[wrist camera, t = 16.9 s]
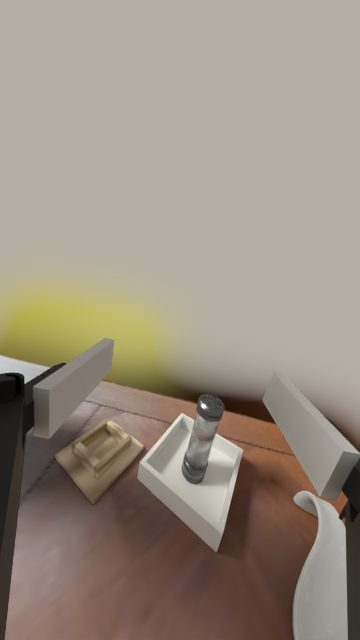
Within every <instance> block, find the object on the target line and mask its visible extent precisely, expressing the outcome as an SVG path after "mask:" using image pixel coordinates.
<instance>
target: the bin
mask: <svg viewBox="0 0 360 640" xmlns="http://www.w3.org/2000/svg"><path fill="white" fill-rule="evenodd" d="M194 421H195V420H193V419H191V418H190V417H188V416H186V415H185V414H183V413H181V415H180V416H179V417H178V418H177V419H176V420H175V422H174V423H173V424H172V425H171V426H170V427H169V429H168V430H167V431H166V432H165V433H164V435H163V436H162V437H161V438H160V439H159V440H158V442H157V443H156V444H155V445H154V446H153V447H152V449H151V450H150V451H149V452H148V453H147V454H146V456H145V457H144V458H143V459H142V460H141V462H140V464H139V470H138V476H137V479H138V480H139V481H140V482H141V483H142V484H143V485H144V486H145V487H147V488H148V489H149V490H150V491H151V492H152V493H153V494H154V495H155V496H156V497H157V498H158V499H159V500H160V501H161V502H163V503H164V504H165V505H166V506H167V507H168V508H169V509H170V510H171V511H172V512H173V513H174V514H175V515H176V516H177V517H179V518H180V519H181V520H182V521H183V522H184V523H185V524H186V525H187V526H188V527H189V528H190V529H191V530H192V531H194V532H195V533H196V534H197V535H198V536H199V537H200V538H201V539H202V540H203V541H204V542H205V543H206V544H207V545H208V546H210V547H211V548H212V549H213V550H214V551H215V552H216V553H217V550H218V547H219V544H220V541H221V538H222V535H223V532H224V527H225V523H226V519H227V515H228V511H229V507H230V503H231V498H232V494H233V490H234V486H235V482H236V478H237V474H238V469H239V465H240V461H241V457H242V453H243V449H241V448H239V447H238V446H236V445H234V444H233V443H231V442H229V441H228V440H226V439H224V438H223V437H221V436H219V435H218V434H216V435H215V438H214V441H213V445H212V448H211V452H210V455H209V459H208V466H207V469H206V473H205V476H204V479H203V481H202V482H201V483H199V484H192V483H190V482H188V481H187V480H186V479H185V478H184V476H183V474H182V469H181V468H182V463H183V459H184V455H185V452H186V451H187V448H188V444H189V440H190V436H191V432H192V428H193V424H194Z"/></svg>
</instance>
